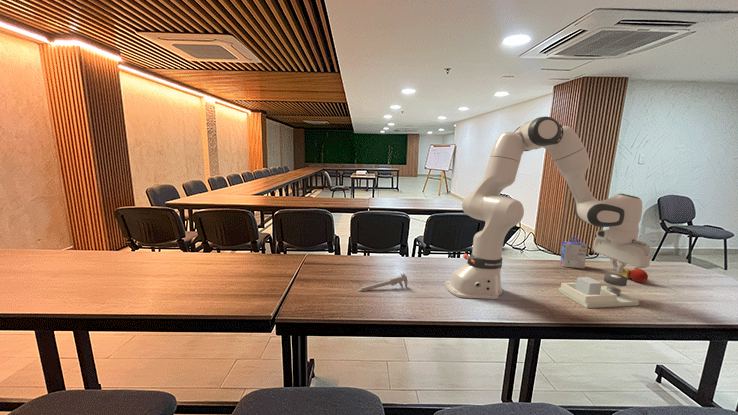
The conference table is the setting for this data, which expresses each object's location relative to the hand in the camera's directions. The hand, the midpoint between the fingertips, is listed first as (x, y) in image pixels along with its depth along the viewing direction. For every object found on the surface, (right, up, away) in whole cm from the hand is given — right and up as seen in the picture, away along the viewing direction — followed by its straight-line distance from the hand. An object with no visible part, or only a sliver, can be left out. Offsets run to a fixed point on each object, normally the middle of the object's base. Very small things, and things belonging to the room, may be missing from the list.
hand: (616, 270), depth 120 cm
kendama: (+25, -8, +24) cm, 36 cm away
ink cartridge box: (+7, -5, +37) cm, 38 cm away
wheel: (0, -5, +1) cm, 5 cm away
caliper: (-91, -9, +4) cm, 91 cm away
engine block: (-12, -9, 0) cm, 15 cm away
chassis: (-7, -11, +1) cm, 13 cm away
